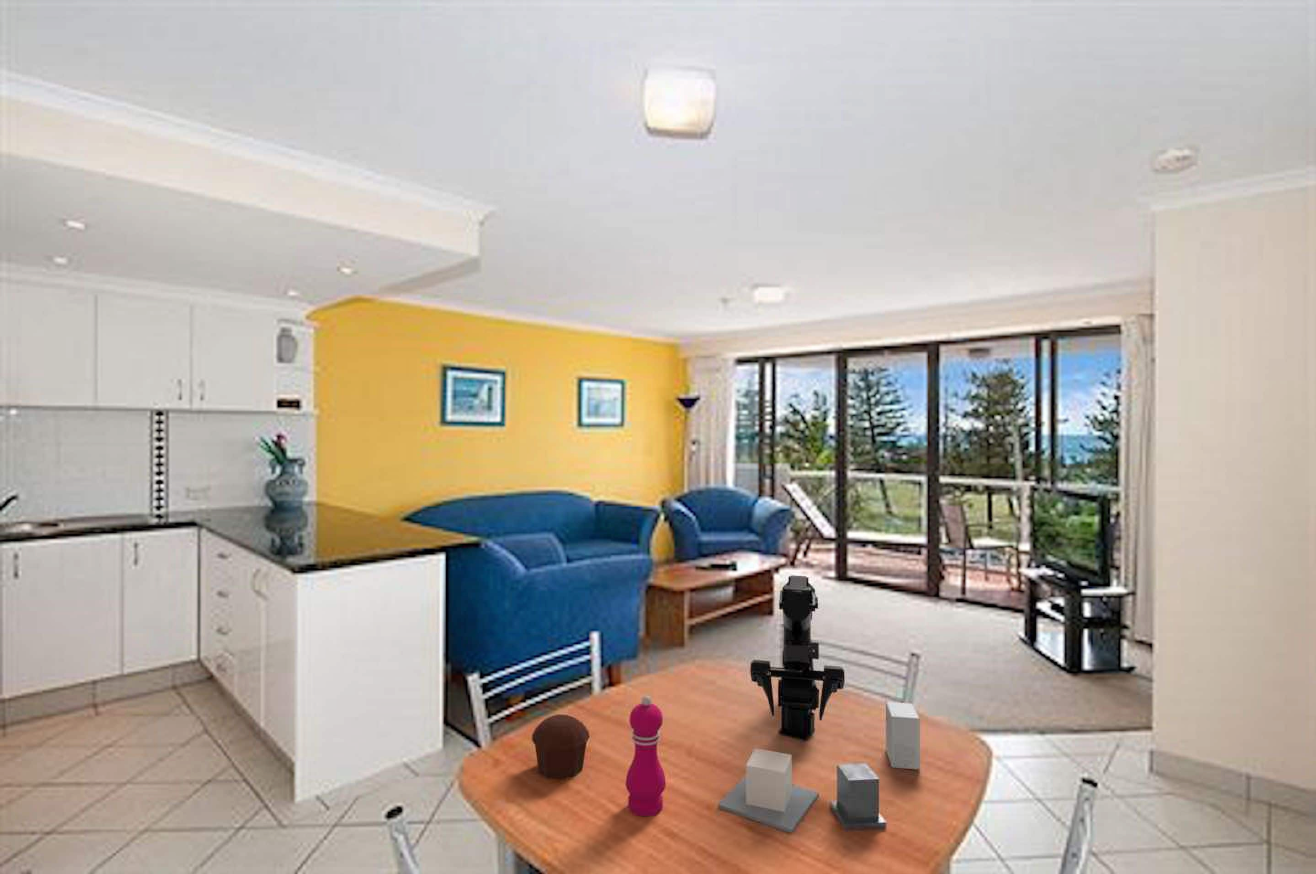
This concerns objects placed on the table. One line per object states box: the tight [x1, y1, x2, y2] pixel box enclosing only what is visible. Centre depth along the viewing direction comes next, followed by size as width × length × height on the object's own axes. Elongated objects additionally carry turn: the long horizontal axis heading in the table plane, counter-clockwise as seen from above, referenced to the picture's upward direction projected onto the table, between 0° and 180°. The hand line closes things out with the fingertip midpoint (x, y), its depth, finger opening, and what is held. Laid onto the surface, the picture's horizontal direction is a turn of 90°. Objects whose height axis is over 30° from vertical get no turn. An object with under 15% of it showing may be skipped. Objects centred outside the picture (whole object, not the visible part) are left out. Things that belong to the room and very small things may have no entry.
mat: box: [717, 775, 820, 834], centre depth 119 cm, size 14×14×1 cm
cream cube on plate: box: [745, 748, 793, 812], centre depth 119 cm, size 7×7×7 cm
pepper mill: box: [625, 695, 667, 817], centre depth 117 cm, size 7×7×20 cm
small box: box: [885, 701, 921, 771], centre depth 135 cm, size 8×6×10 cm
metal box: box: [829, 762, 887, 831], centre depth 115 cm, size 7×7×8 cm
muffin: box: [531, 714, 591, 781], centre depth 131 cm, size 12×11×10 cm
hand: (796, 717), depth 128 cm, fingers open, 9 cm apart
